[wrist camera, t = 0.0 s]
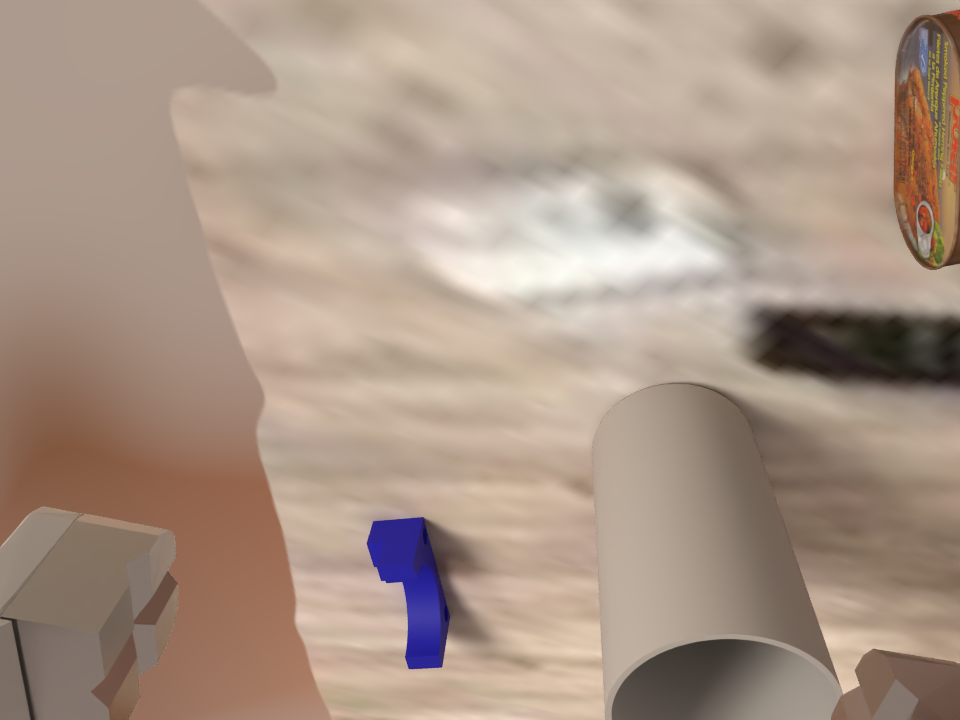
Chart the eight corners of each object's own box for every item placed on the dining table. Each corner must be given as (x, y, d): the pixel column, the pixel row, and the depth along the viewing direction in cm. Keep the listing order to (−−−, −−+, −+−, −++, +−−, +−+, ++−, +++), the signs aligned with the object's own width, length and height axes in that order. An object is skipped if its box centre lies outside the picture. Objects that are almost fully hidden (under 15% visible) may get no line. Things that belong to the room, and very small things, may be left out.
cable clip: (373, 520, 73) (359, 568, 68) (423, 515, 72) (412, 564, 67) (403, 618, 79) (392, 670, 74) (450, 615, 78) (442, 667, 73)
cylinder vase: (779, 466, 66) (884, 746, 45) (642, 529, 71) (677, 813, 49) (703, 350, 62) (778, 600, 40) (561, 426, 66) (560, 687, 45)
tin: (895, 7, 50) (952, 28, 42) (952, -5, 49) (1020, 14, 42) (891, 241, 57) (940, 293, 49) (941, 233, 56) (997, 285, 49)
